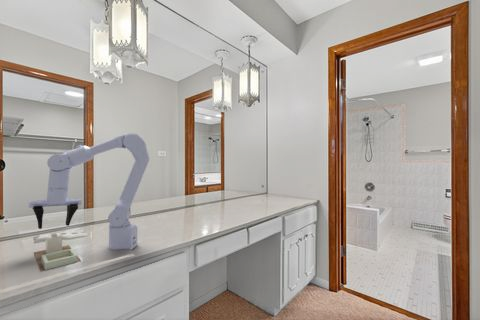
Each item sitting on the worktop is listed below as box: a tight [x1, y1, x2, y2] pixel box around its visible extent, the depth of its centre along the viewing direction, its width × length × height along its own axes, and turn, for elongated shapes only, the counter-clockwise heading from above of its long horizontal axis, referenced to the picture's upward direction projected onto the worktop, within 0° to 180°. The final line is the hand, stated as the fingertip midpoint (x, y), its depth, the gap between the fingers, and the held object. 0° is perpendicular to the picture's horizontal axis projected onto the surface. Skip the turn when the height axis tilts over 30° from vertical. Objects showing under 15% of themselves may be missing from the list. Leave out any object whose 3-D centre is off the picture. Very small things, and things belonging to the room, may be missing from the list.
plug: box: [45, 232, 63, 254], centre depth 81 cm, size 4×4×6 cm
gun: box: [33, 230, 90, 244], centre depth 97 cm, size 18×3×10 cm
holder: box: [41, 248, 79, 271], centre depth 73 cm, size 8×8×2 cm
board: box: [33, 244, 82, 273], centre depth 77 cm, size 20×10×1 cm, turn 47°
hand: (54, 226), depth 81 cm, fingers open, 7 cm apart
